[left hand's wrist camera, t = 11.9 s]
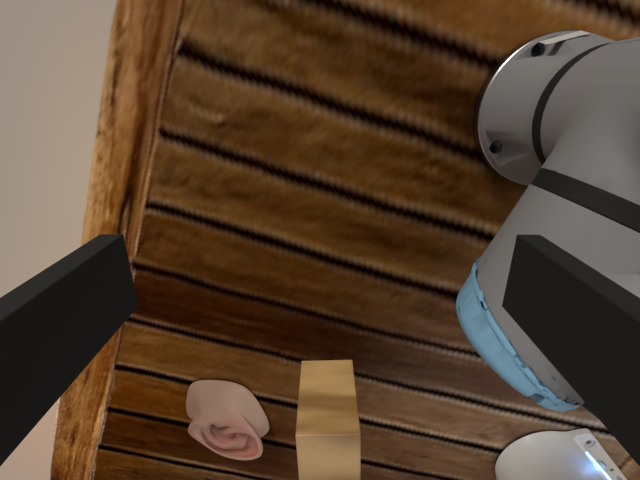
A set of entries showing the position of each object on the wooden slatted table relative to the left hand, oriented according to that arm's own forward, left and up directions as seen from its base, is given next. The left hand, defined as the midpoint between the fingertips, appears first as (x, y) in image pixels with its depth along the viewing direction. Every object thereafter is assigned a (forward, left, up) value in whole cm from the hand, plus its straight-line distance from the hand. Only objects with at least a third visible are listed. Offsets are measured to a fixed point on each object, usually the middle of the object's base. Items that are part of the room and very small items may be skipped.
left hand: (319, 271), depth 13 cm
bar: (-8, +28, -17) cm, 34 cm away
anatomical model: (+4, +41, -31) cm, 52 cm away
